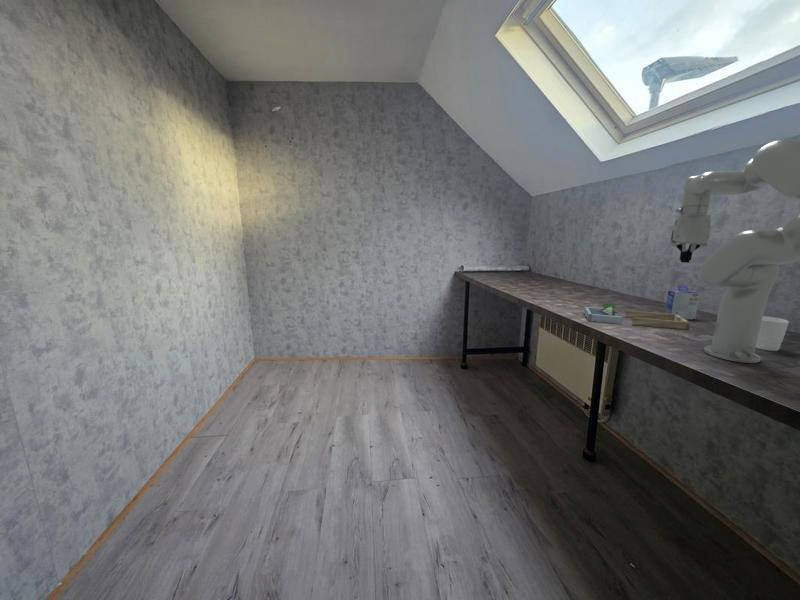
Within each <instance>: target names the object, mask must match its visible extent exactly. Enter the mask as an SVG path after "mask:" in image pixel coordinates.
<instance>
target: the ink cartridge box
mask: <svg viewBox="0 0 800 600" xmlns="http://www.w3.org/2000/svg"><path fill="white" fill-rule="evenodd" d="M677 287H678V288H677V290H667V297H666V298H667V299H666V306H665V312H664V313H668V314H677V315H679V316H680V317H682V318H684V319H685V320H693V319H695V320H696V316H697V311H698V305H699V300H700V294H701V292H697V291H694V290H689V287H688V285H678V286H677Z"/></svg>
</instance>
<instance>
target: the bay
mask: <svg viewBox="0 0 800 600" xmlns="http://www.w3.org/2000/svg"><path fill="white" fill-rule="evenodd" d="M602 309H603V310H604V307H593V306H584V312H583V314H584V315H585V318H586V317H587V318H586V319H588V320H587V321H588V322H594V321H596V322H597V323H609V324H615V325H616V324H617V325H622V323H623V316H619V315H616V313H614V316H610V315H604V312H603V313H602V312H601V311H603V310H602ZM614 309H615V310H614V312H617V308H614ZM600 313H601V314H600Z"/></svg>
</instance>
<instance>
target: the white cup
mask: <svg viewBox="0 0 800 600" xmlns="http://www.w3.org/2000/svg"><path fill="white" fill-rule="evenodd" d="M789 323H790V321H789V320H787V319H784V318H779V317H774V316H766V315H763V319H762V323H761V327H760V331H759V335H758V340H757V344H756V348H755V349H759V350H763V351H768V352H769V351H770V352H778V351H779V350H780V347H781V344H782V343H783V340H784V338H785V335H786V333H787V332H786V331H787V329H788V326H789Z"/></svg>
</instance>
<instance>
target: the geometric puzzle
mask: <svg viewBox="0 0 800 600" xmlns="http://www.w3.org/2000/svg"><path fill="white" fill-rule="evenodd" d="M602 308H604V310H603V309H602V310H603V311H601V312H602V313H603V312H604V315H610V316H614V313H615V314H616V316H619V315H618V314H619V313H618V312H619V310H618V309H616V308H615V304H603V305H602ZM615 309H616V312H614V310H615ZM600 314H601V313H600Z"/></svg>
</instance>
